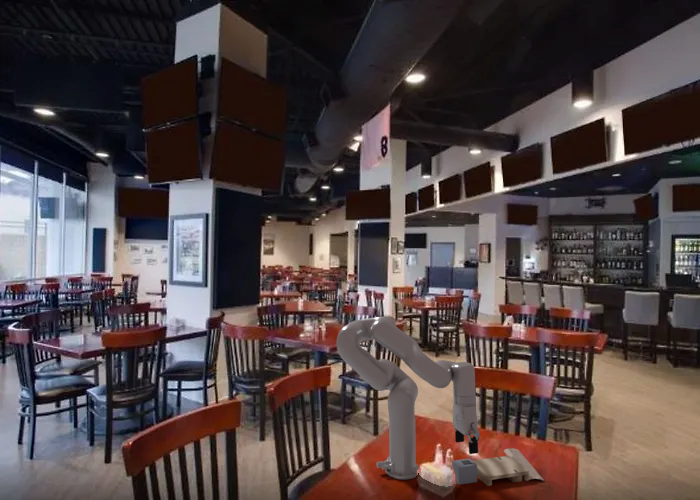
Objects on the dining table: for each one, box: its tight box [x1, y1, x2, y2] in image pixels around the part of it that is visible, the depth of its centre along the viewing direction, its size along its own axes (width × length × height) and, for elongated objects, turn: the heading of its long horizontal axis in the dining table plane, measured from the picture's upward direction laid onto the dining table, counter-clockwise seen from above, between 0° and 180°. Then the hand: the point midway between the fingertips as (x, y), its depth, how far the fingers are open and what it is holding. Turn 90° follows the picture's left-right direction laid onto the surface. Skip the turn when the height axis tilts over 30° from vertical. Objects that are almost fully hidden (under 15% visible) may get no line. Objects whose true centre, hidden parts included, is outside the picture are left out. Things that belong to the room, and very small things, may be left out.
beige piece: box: [503, 448, 545, 482], centre depth 167 cm, size 24×7×2 cm, turn 0°
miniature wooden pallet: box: [471, 455, 529, 487], centre depth 160 cm, size 16×12×3 cm
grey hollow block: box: [451, 458, 478, 485], centre depth 157 cm, size 7×5×6 cm
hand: (466, 447), depth 157 cm, fingers open, 9 cm apart
